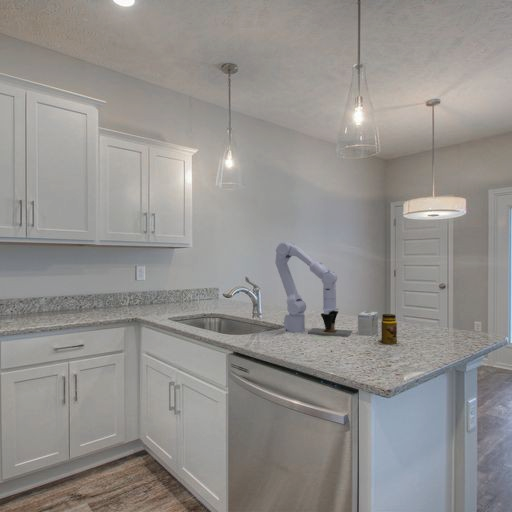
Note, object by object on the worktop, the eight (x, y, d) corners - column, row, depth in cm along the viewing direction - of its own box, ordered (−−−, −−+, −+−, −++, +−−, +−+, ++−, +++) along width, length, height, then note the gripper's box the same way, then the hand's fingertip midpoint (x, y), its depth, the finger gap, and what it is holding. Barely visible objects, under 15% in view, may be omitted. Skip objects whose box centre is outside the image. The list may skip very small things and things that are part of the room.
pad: (310, 342, 158) (310, 339, 159) (314, 339, 165) (314, 336, 165) (333, 344, 154) (333, 341, 154) (337, 341, 161) (337, 337, 161)
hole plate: (307, 337, 170) (307, 331, 170) (313, 333, 179) (313, 327, 179) (348, 340, 162) (348, 334, 163) (351, 335, 172) (351, 330, 172)
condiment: (396, 345, 152) (395, 316, 152) (374, 343, 156) (374, 314, 156) (399, 342, 158) (398, 313, 158) (378, 340, 162) (378, 312, 162)
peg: (324, 337, 170) (324, 324, 170) (326, 335, 173) (326, 322, 173) (333, 337, 168) (333, 324, 168) (335, 336, 172) (335, 323, 172)
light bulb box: (363, 333, 177) (363, 310, 177) (378, 335, 174) (378, 311, 174) (357, 337, 168) (357, 313, 168) (372, 339, 164) (372, 314, 164)
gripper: (335, 300, 163) (335, 331, 162) (341, 297, 176) (341, 325, 176) (319, 299, 165) (319, 330, 165) (326, 296, 179) (326, 325, 179)
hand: (329, 328), depth 171 cm, fingers open, 7 cm apart
